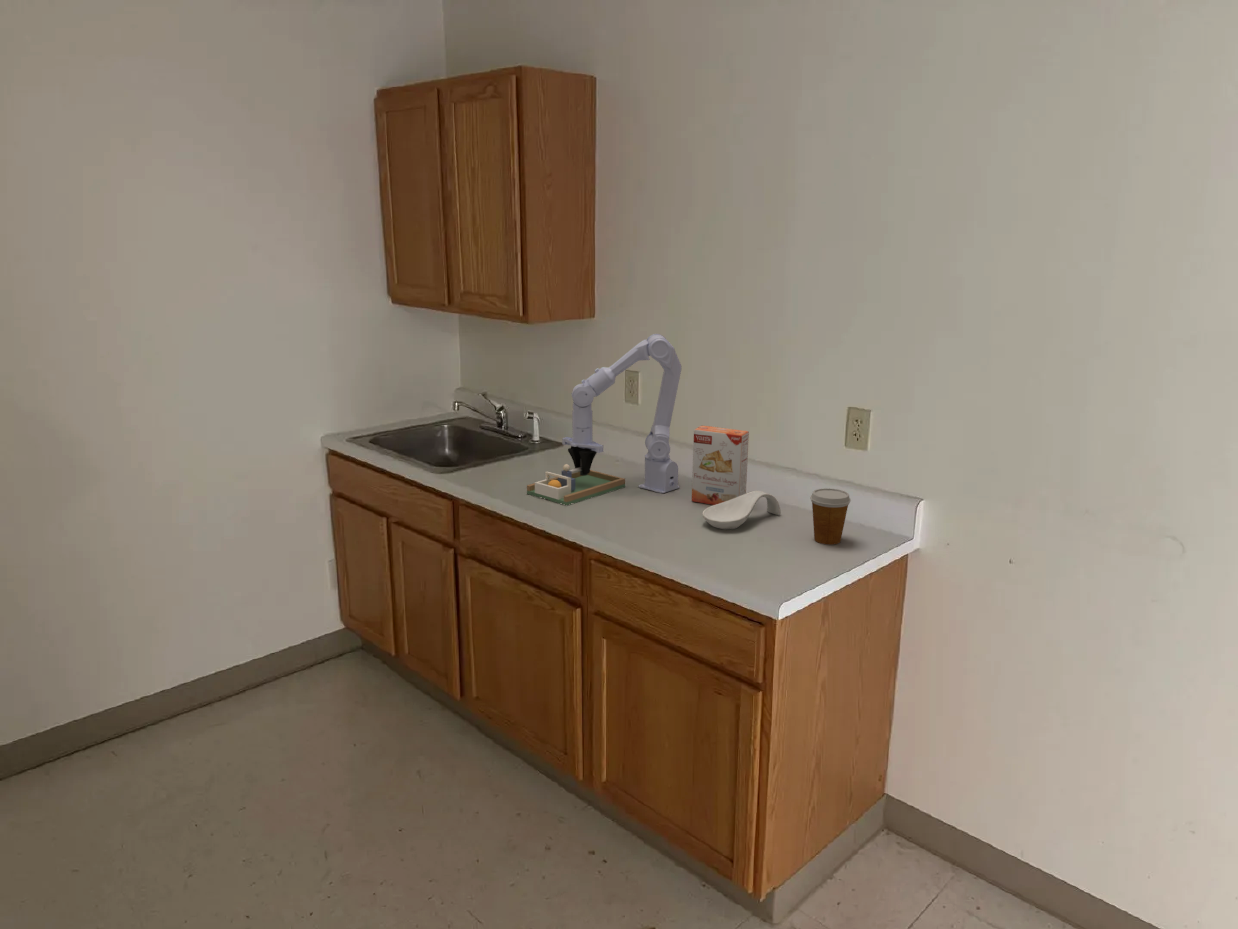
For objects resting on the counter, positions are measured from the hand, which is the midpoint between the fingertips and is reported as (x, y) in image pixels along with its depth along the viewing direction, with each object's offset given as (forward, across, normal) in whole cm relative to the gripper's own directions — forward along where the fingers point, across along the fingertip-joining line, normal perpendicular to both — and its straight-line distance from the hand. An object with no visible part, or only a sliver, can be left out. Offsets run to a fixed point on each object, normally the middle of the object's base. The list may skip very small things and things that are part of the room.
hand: (582, 472), depth 258 cm
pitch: (+5, 0, -2) cm, 5 cm away
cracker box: (+5, +37, +16) cm, 40 cm away
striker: (+3, 0, -3) cm, 5 cm away
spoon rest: (+5, +50, +7) cm, 51 cm away
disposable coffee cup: (+5, +74, +10) cm, 75 cm away
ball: (+2, 0, -11) cm, 12 cm away
